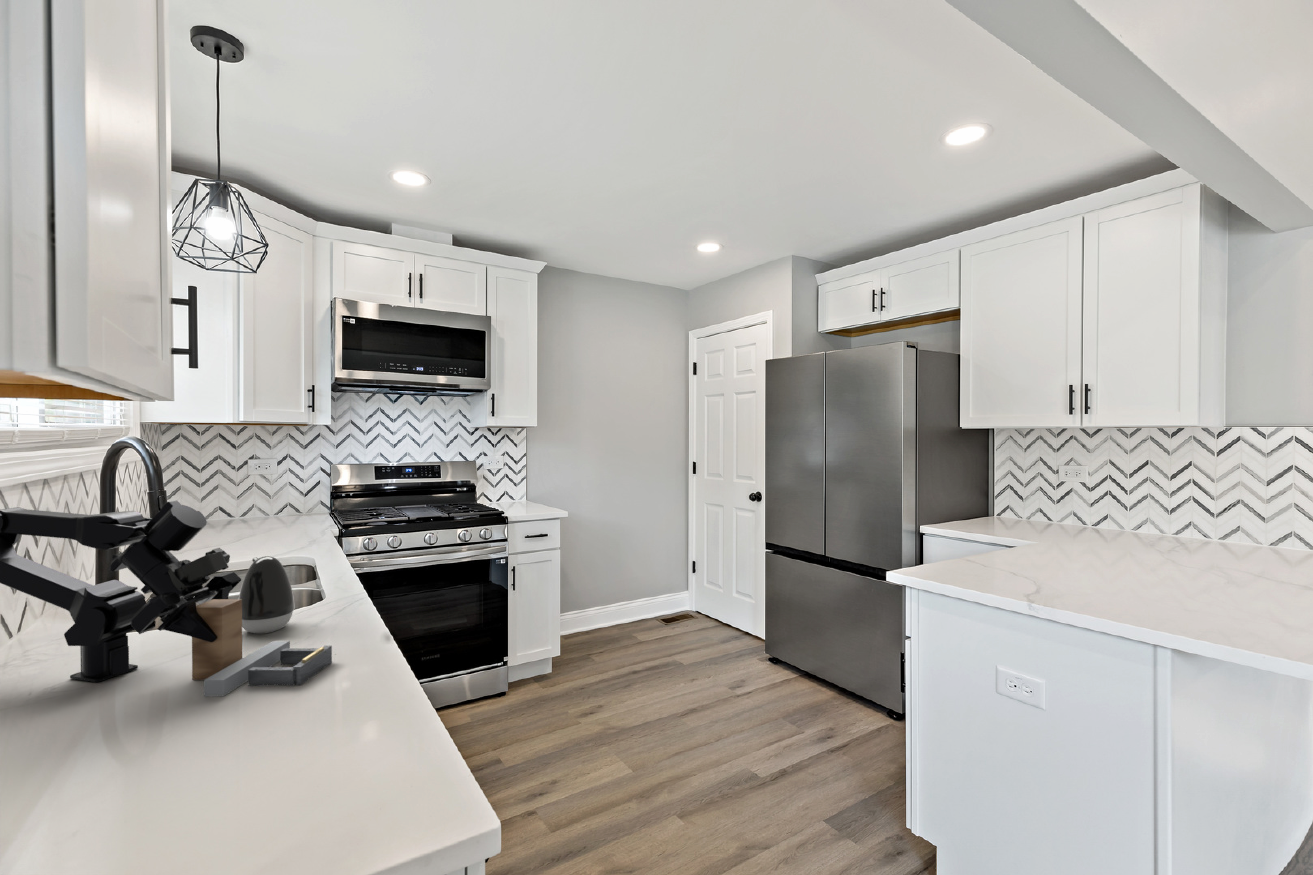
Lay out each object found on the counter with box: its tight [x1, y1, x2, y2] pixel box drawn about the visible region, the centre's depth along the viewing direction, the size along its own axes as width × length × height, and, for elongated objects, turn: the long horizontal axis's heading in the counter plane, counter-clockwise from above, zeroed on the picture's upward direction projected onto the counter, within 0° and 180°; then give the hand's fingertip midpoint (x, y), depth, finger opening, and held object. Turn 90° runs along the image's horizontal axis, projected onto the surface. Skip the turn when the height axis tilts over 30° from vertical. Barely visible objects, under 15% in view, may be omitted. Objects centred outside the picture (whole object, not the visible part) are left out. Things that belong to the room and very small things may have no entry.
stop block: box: [191, 598, 243, 681], centre depth 106 cm, size 5×5×12 cm
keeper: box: [247, 645, 333, 686], centre depth 106 cm, size 8×10×3 cm
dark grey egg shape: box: [237, 555, 296, 635], centre depth 129 cm, size 10×10×15 cm
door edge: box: [203, 640, 291, 697], centre depth 106 cm, size 3×18×2 cm, turn 1°
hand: (225, 634), depth 106 cm, fingers closed on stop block, 5 cm apart
